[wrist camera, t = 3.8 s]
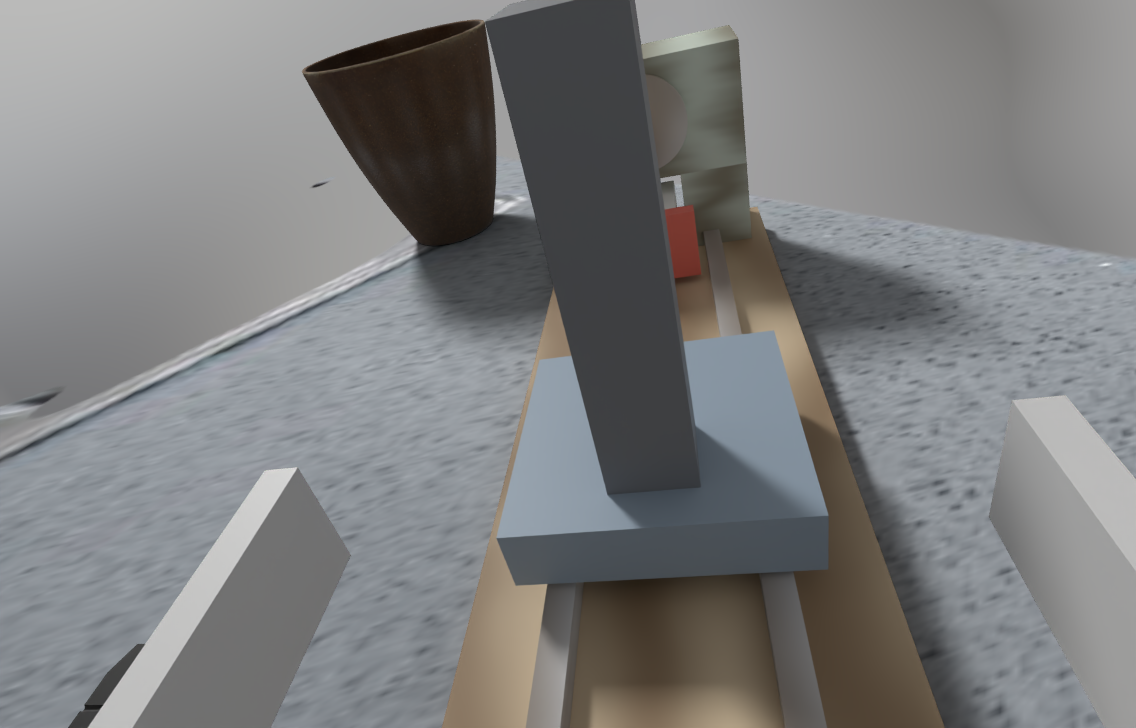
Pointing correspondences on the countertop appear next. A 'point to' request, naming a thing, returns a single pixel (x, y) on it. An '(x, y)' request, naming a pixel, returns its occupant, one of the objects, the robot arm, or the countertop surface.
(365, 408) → the countertop surface
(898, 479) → the countertop surface
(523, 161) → the carriage
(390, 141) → the plant pot
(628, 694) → the rail track
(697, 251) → the button
